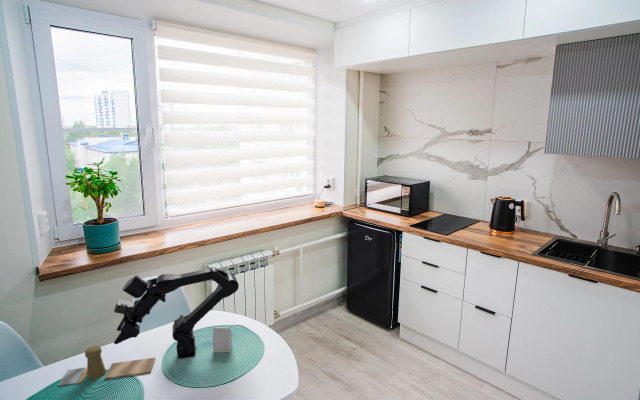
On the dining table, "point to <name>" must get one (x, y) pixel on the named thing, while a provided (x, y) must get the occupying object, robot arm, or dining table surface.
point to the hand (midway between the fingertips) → (116, 336)
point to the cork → (94, 362)
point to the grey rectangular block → (222, 339)
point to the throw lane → (111, 371)
